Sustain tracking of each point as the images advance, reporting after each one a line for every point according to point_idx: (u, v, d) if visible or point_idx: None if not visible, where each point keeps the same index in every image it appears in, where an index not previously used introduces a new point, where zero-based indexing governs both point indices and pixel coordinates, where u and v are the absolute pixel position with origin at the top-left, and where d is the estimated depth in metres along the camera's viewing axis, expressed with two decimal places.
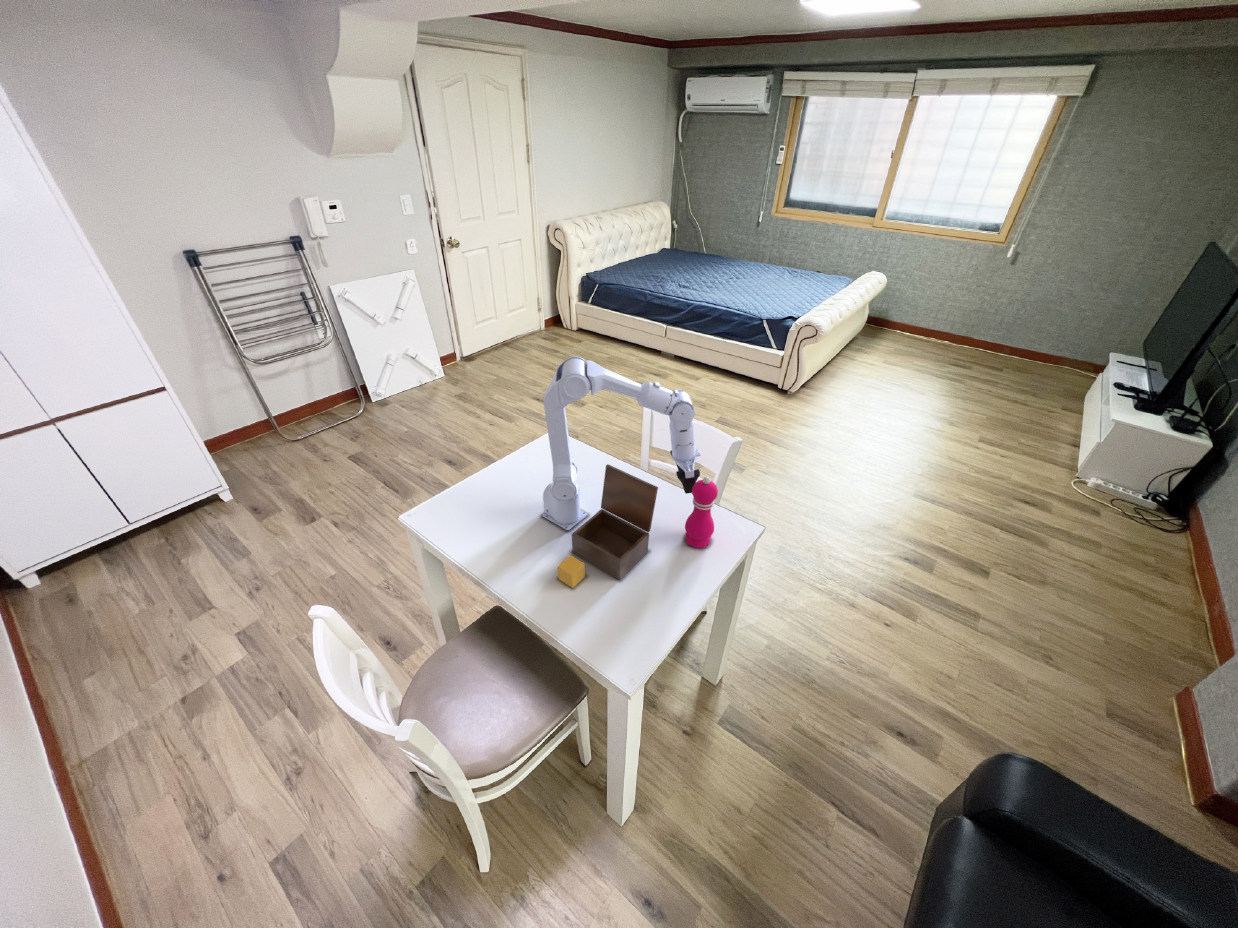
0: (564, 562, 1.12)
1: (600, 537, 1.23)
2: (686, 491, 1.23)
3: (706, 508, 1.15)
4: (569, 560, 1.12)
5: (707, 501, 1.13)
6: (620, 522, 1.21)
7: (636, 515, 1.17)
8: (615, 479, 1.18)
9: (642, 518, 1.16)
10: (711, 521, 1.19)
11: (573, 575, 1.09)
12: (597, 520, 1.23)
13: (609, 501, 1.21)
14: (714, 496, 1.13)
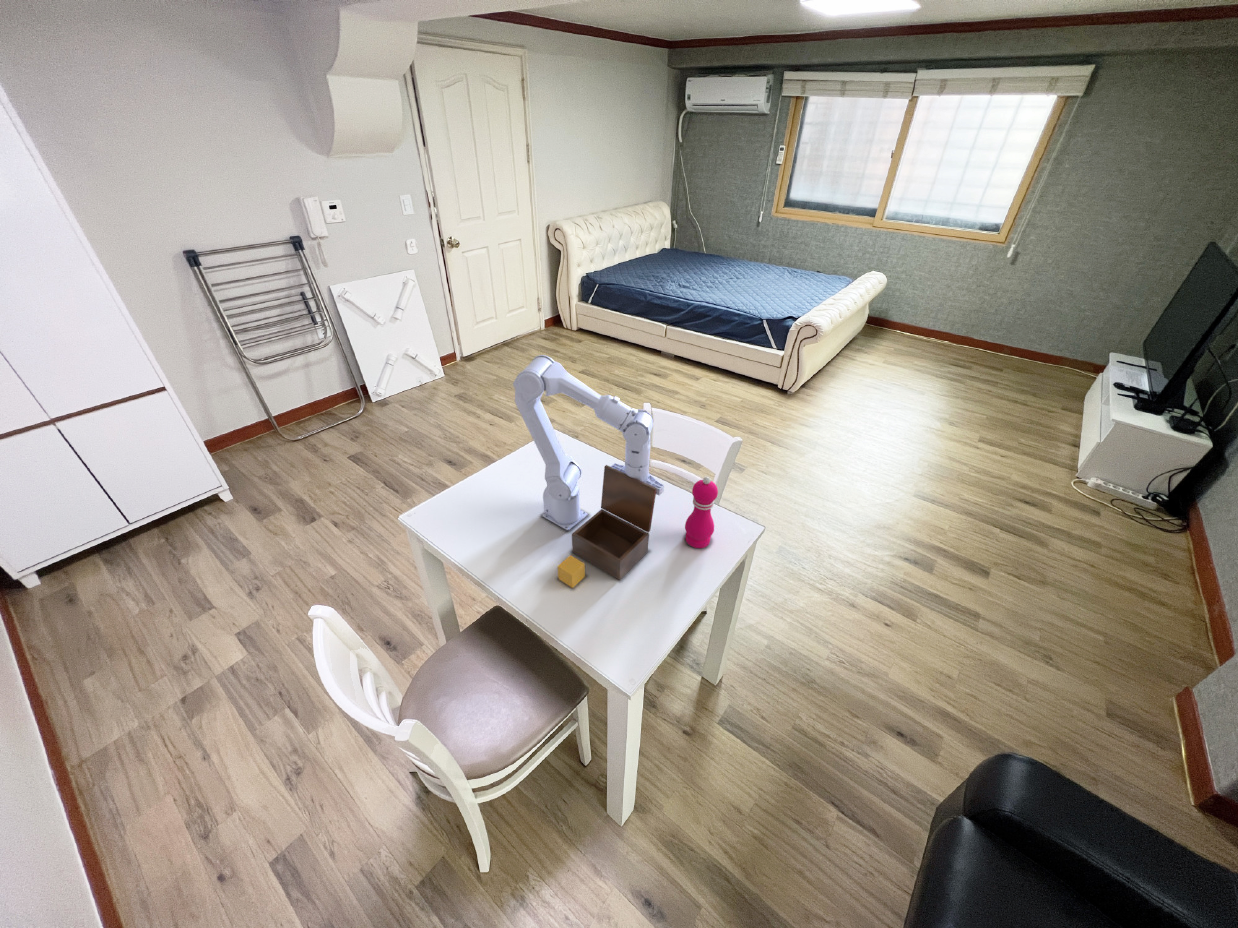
0: (564, 562, 1.12)
1: (600, 537, 1.23)
2: None
3: (706, 508, 1.15)
4: (569, 560, 1.12)
5: (707, 501, 1.13)
6: (620, 522, 1.21)
7: (636, 515, 1.17)
8: (614, 480, 1.17)
9: (642, 518, 1.16)
10: (711, 521, 1.19)
11: (573, 575, 1.09)
12: (597, 520, 1.23)
13: (609, 501, 1.21)
14: (714, 496, 1.13)
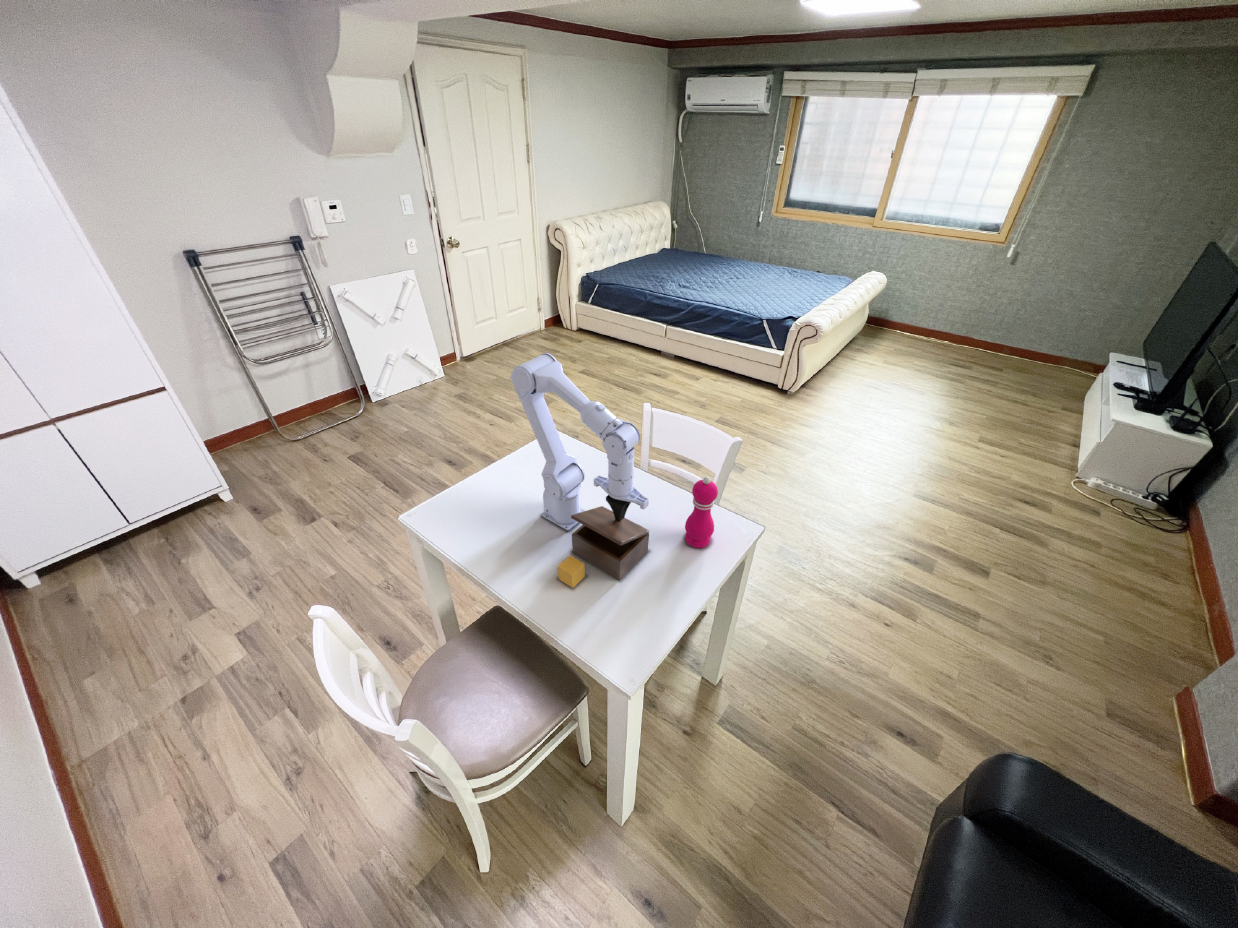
0: (564, 562, 1.12)
1: (600, 537, 1.23)
2: (620, 519, 1.17)
3: (706, 508, 1.15)
4: (569, 560, 1.12)
5: (707, 501, 1.13)
6: None
7: None
8: None
9: None
10: (711, 521, 1.19)
11: (573, 575, 1.09)
12: None
13: None
14: (714, 496, 1.13)
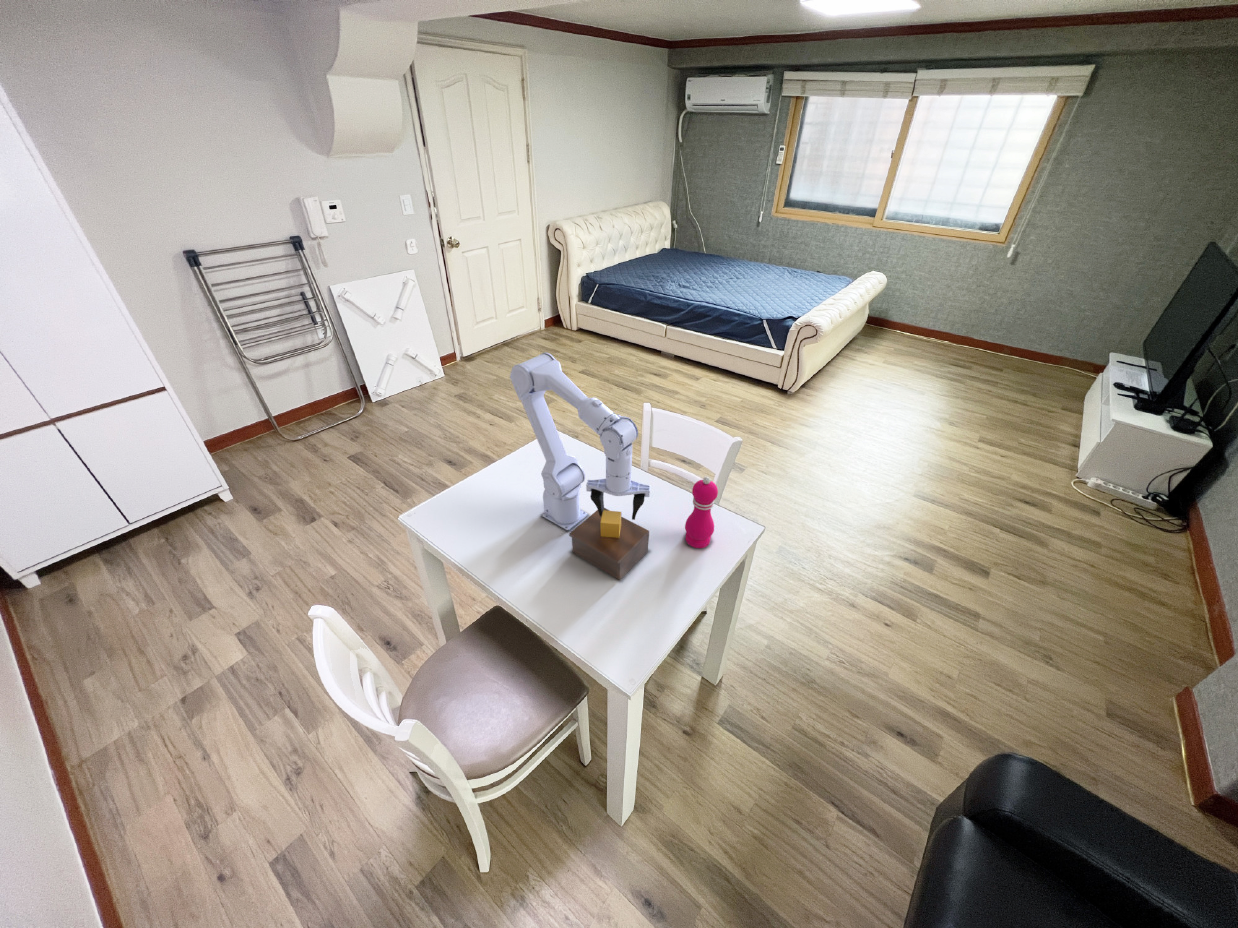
0: (603, 517, 1.14)
1: None
2: (635, 516, 1.15)
3: (706, 508, 1.15)
4: (606, 514, 1.15)
5: (707, 501, 1.13)
6: None
7: None
8: None
9: None
10: (711, 521, 1.19)
11: (619, 524, 1.13)
12: None
13: None
14: (714, 496, 1.13)
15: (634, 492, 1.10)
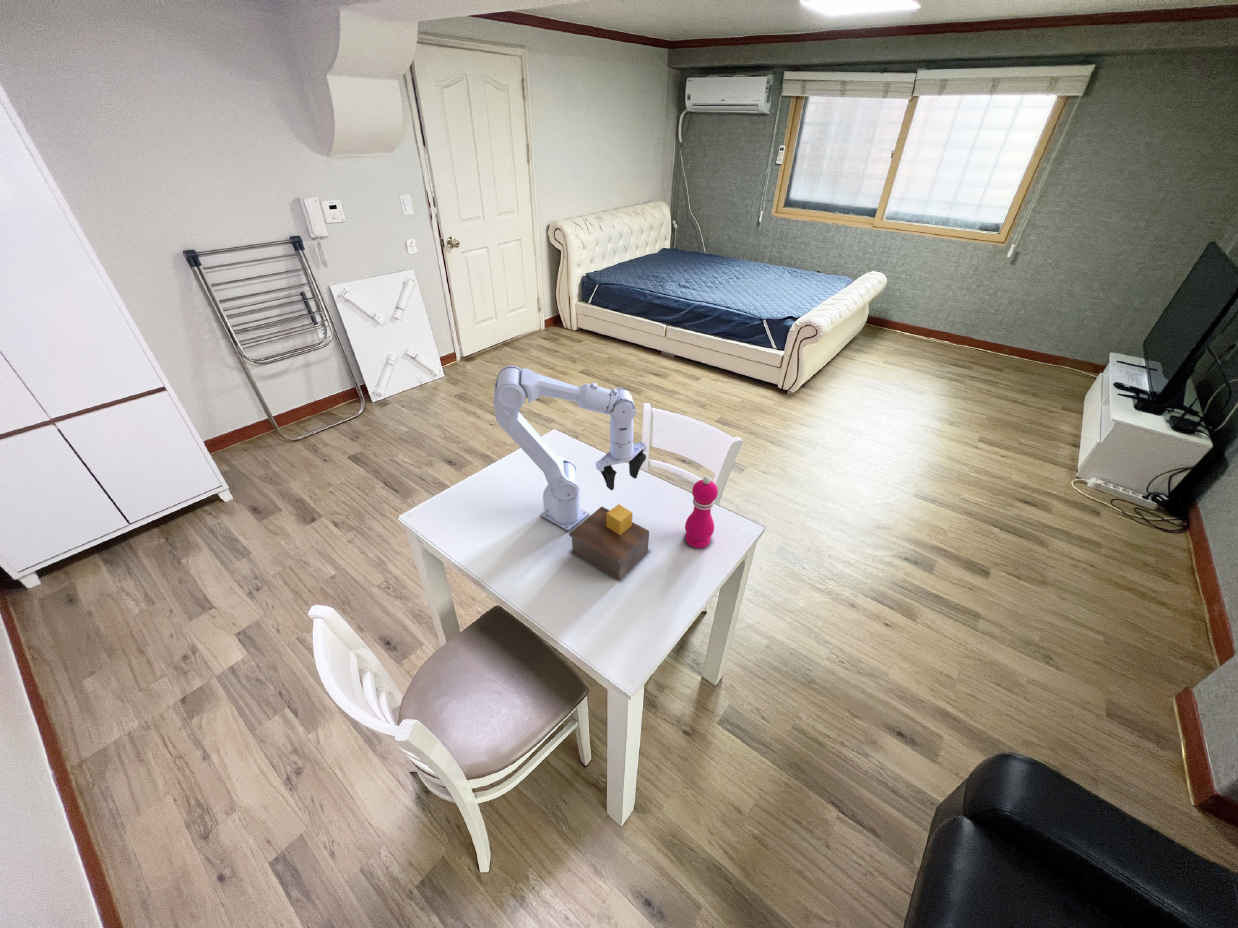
0: (613, 510, 1.16)
1: None
2: None
3: (706, 508, 1.15)
4: (617, 508, 1.16)
5: (707, 501, 1.13)
6: None
7: None
8: None
9: None
10: (711, 521, 1.19)
11: (621, 522, 1.13)
12: None
13: None
14: (714, 496, 1.13)
15: (638, 451, 1.22)
